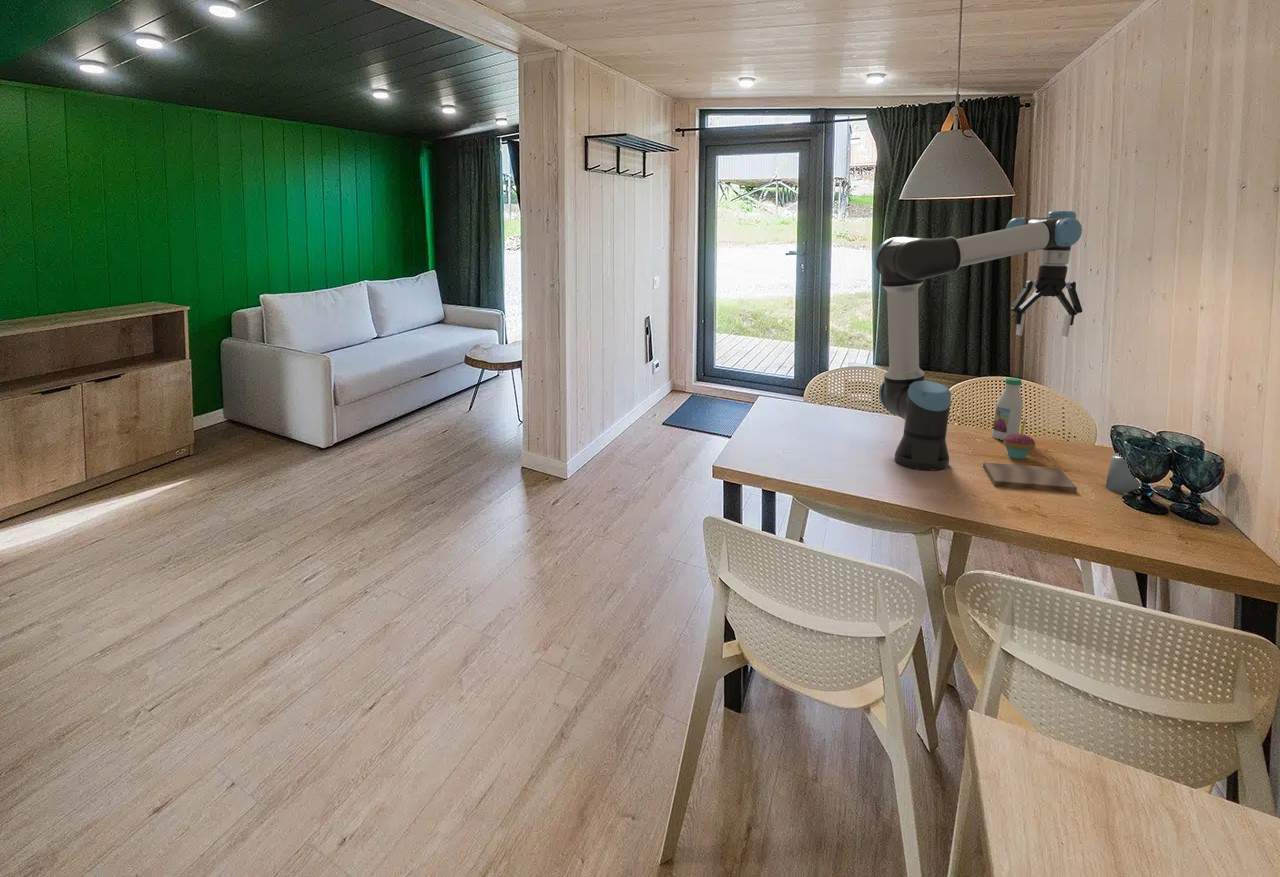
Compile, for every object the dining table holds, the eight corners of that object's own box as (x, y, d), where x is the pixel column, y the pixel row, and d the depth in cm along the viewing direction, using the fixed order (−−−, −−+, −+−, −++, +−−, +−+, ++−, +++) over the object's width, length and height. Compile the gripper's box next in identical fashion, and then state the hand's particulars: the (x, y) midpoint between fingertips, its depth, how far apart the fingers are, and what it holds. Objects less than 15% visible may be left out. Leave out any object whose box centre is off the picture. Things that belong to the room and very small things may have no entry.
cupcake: (1005, 450, 225) (1011, 413, 222) (1035, 456, 220) (1042, 418, 217) (998, 457, 219) (1004, 419, 215) (1029, 463, 214) (1035, 424, 210)
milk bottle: (1012, 435, 242) (1021, 376, 236) (1021, 441, 234) (1031, 381, 228) (988, 434, 242) (996, 376, 236) (996, 441, 235) (1005, 381, 229)
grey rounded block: (1111, 493, 190) (1118, 461, 188) (1101, 483, 198) (1107, 452, 195) (1145, 496, 189) (1153, 463, 186) (1133, 485, 196) (1140, 454, 193)
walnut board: (994, 486, 196) (995, 480, 195) (982, 467, 210) (983, 462, 210) (1076, 492, 191) (1077, 487, 190) (1058, 472, 206) (1059, 468, 205)
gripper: (1015, 265, 213) (1004, 336, 220) (1103, 266, 212) (1090, 338, 218) (1005, 263, 221) (995, 332, 227) (1090, 264, 219) (1077, 334, 225)
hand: (1041, 335), depth 222 cm, fingers open, 13 cm apart
